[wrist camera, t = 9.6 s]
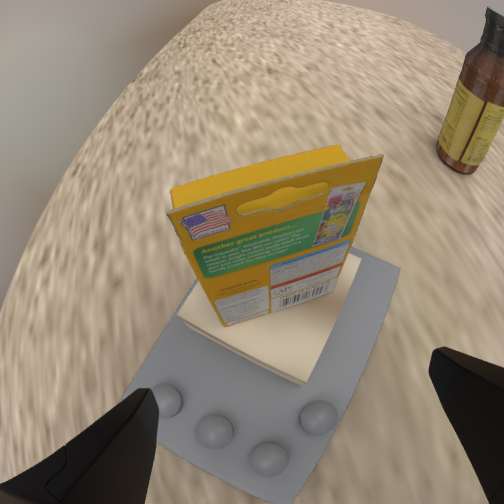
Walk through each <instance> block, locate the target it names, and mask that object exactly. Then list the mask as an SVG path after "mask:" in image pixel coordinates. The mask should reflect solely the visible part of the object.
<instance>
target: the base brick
mask: <svg viewBox="0 0 504 504" xmlns="http://www.w3.org/2000/svg"><path fill="white" fill-rule="evenodd" d="M360 262H361V258H359V257H357V256H354V255H352V254H350V253H348V255H347V258H346V260H345V263H344V265H343V268H342V270H341V273H340V276H339V278H338V281H337V283H336V285H335V288H334V290H333V292H331V293H328V294H325V295H322V296H319V297H317V298H314V299H311V300H308V301H305V302H302V303H300V304H297V305H294V306H291V307H288V308H285V309H282V310H278V311H275V312H272V313H268V314H265V315H262V316H259V317H256V318H253V319H250V320H247V321H244V322H240V323H237V324H234V325H231V326H229V327H224V326H223V325H222V324H221V322H220V320H219V318H218V316H217V314H216V312H215V311H214V309H213V307H212V305H211V303H210V301H209V299H208V298H207V296H206V294H205V292H204V290H203V288H202V287H201V284H200V282H199V281H198V282H197V284H196V285H195V287H194V288H193V290H192V291H191V293H190V294H189V296H188V298H187V299H186V301H185V302H184V304H183V305H182V307H181V309H180V310H179V312H178V313H177V315H178V317H179V318H180V319H181V320H182V321H183V322H184V323H185V324H186V325H187V326H188V327H189V328H191V329H192V330H194V331H196V332H198V333H199V334H201V335H203V336H205V337H206V338H208V339H210V340H212V341H214V342H215V343H217V344H219V345H221V346H223V347H224V348H226V349H228V350H230V351H232V352H234V353H236V354H238V355H239V356H241V357H243V358H245V359H247V360H249V361H251V362H253V363H255V364H257V365H259V366H261V367H263V368H265V369H267V370H269V371H271V372H273V373H275V374H277V375H279V376H281V377H283V378H285V379H287V380H289V381H291V382H294V383H296V384H298V385H300V386H302V385H304V384H305V383H306V382H307V380H308V378H309V376H310V374H311V372H312V370H313V368H314V366H315V364H316V362H317V360H318V358H319V356H320V354H321V352H322V350H323V348H324V346H325V343H326V341H327V339H328V337H329V335H330V333H331V331H332V328H333V326H334V324H335V322H336V319H337V317H338V315H339V313H340V310H341V308H342V306H343V303H344V301H345V299H346V296H347V294H348V292H349V289H350V287H351V284H352V282H353V279H354V277H355V274H356V272H357V269H358V267H359V264H360Z"/></svg>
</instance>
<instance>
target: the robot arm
mask: <svg viewBox="0 0 504 504" xmlns="http://www.w3.org/2000/svg"><path fill="white" fill-rule="evenodd" d="M429 376H430V378H431V381H432V383H433V385H434V388H435V390H436V392H437V395H438V397H439V400H440V402H441V405H442V407H443V409H444V411H445V413H446V415H447V417H448V419H449V421H450V423H451V424H452V426H453V428H454V430H455V432H456V434H457V436H458V438H459V440H460V442H461V444H462V446H463V448H464V450H465V452H466V454H467V456H468V458H469V460H470V462H471V464H472V466H473V468H474V470H475V473H476V475H477V477H478V479H479V481H480V483H481V486H482V488H483V490H484V493H485V495H486V497H487V499H488V501H489V504H504V368H503V367H500V366H497V365H495V364H492V363H489V362H486V361H483V360H481V359H478V358H475V357H472V356H470V355H467V354H464V353H461V352H459V351H456V350H453V349H450V348H448V347H440V348H436V349H434V350H433V352H432V356H431V361H430V365H429ZM158 421H159V407H158V404H157V401H156V399H155V396H154V394H153V391H152V390H151V389H150V388H138V389H136V390H135V391H134V392H132V393H131V394H130V395H129V396H127V397H126V398H125V399H124V400H122V401H121V402H120V403H119V404H117V405H116V406H115V407H113V408H112V409H111V410H110V411H108V412H107V413H106V414H105V415H103V416H102V417H101V418H99V419H98V420H97V421H95V422H94V423H93V424H92V425H90V426H89V427H88V428H86V429H85V430H84V431H82V432H81V433H80V434H79V435H77V436H76V437H75V438H73V439H72V440H71V441H69V442H68V443H67V444H66V446H63V447H61V448H60V449H59V450H57V451H56V452H54V453H53V454H52V455H50V456H49V457H47V458H46V459H44V460H43V461H41V462H39V463H38V464H36V465H35V466H33V467H31V468H29V469H28V470H26V471H24V472H22V473H21V474H19V475H17V476H15V477H14V478H12V479H10V480H8V481H6V482H4V483H1V484H0V504H145V499H146V494H147V490H148V485H149V480H150V475H151V471H152V466H153V462H154V457H155V451H156V441H157V431H158Z"/></svg>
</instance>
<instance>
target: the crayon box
mask: <svg viewBox="0 0 504 504" xmlns="http://www.w3.org/2000/svg"><path fill="white" fill-rule="evenodd" d="M383 157H384V155H383V154H380V155H377V156H370V157H366V158H362V159H358V160H353V161H350V159H349V158H348V156H347V155H346V154H345V152H344V151H343V150H342V148H341V146H340V145H334V146H329V147H325V148H320V149H315V150H311V151H307V152H302V153H298V154H293V155H289V156H285V157H281V158H277V159H273V160H269V161H265V162H261V163H257V164H253V165H250V166H246V167H242V168H239V169H235V170H231V171H227V172H224V173H220V174H217V175H213V176H210V177H207V178H203V179H200V180H197V181H193V182H190V183H187V184H184V185H180V186H177V187H174V188H172V189H171V190H170V194H171V198H172V204H173V209H172V210H170V211H167V213H166V214H167V216H168V218H169V219H170V221H171V223H172V225H173V226H174V229H175V232H176V234H177V236H178V237H179V240H180V244H181V247H182V249H183V251H184V253H185V255H186V257H187V259H188V261H189V263H190V265H191V267H192V268H193V271H194V273H195V275H196V276H197V278H198V280H199V282H200V284H201V287H202V288H203V290H204V292H205V294H206V296H207V298H208V299H209V301H210V303H211V305H212V307H213V309H214V311H215V312H216V314H217V316H218V318H219V320H220V322H221V324H222V325H223V326H224V327H229V326H231V325H234V324H237V323H240V322H244V321H247V320H250V319H253V318H256V317H259V316H262V315H265V314H268V313H272V312H275V311H278V310H282V309H285V308H288V307H291V306H294V305H297V304H300V303H302V302H305V301H308V300H311V299H314V298H317V297H319V296H322V295H325V294H328V293H331V292H333V290H334V288H335V285H336V283H337V281H338V278H339V276H340V273H341V270H342V268H343V265H344V263H345V260H346V258H347V255H348V253H349V250H350V247H351V245H352V242H353V240H354V237H355V234H356V232H357V229H358V226H359V223H360V220H361V218H362V215H363V212H364V209H365V206H366V204H367V201H368V198H369V195H370V192H371V190H372V188H373V186H374V183H375V180H376V178H377V174H378V171H379V168H380V166H381V163H382V160H383Z"/></svg>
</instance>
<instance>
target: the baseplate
mask: <svg viewBox="0 0 504 504" xmlns="http://www.w3.org/2000/svg"><path fill="white" fill-rule="evenodd" d="M349 253H350V254H352V255H354V256H357V257H359V258H361V262H360V264H359V267H358V269H357V272H356V274H355V277H354V279H353V282H352V284H351V287H350V289H349V292H348V294H347V296H346V299H345V301H344V303H343V306H342V308H341V310H340V313H339V315H338V317H337V319H336V322H335V324H334V326H333V328H332V331H331V333H330V335H329V337H328V339H327V341H326V343H325V346H324V348H323V350H322V352H321V354H320V356H319V358H318V360H317V362H316V364H315V366H314V368H313V370H312V372H311V374H310V376H309V378H308V380H307V382H306V383H305V384H304V385H302V386H300V385H298V384H296V383H294V382H291V381H289V380H287V379H285V378H283V377H281V376H279V375H277V374H275V373H273V372H271V371H269V370H267V369H265V368H263V367H261V366H259V365H257V364H255V363H253V362H251V361H249V360H247V359H245V358H243V357H241V356H239V355H238V354H236V353H234V352H232V351H230V350H228V349H226V348H224V347H223V346H221V345H219V344H217V343H215V342H214V341H212V340H210V339H208V338H206V337H205V336H203V335H201V334H199V333H198V332H196V331H194V330H192V329H191V328H189V327H188V326H187V325H186V324H185V323H184V322H183V321H182V320H181V319H180V318H179V317H178V315H177V313H178V312H179V310H180V309H181V307H182V305H183V304H184V302H185V301H186V299H187V298H188V296H189V294H190V293H191V291H192V290H193V288H194V287H195V285H196V284H197V282H198V281H199V280H198V278H197V279H196V281H195V282H194V284H193V285H192V287H191V288H190V290H189V292H188V293H187V295H186V296H185V298H184V299H183V301H182V302H181V304H180V306H179V307H178V309H177V310H176V312H175V313H174V315H173V316H172V318H171V320H170V321H169V323H168V324H167V326H166V327H165V329H164V331H163V332H162V334H161V335H160V337H159V339H158V340H157V342H156V343H155V345H154V347H153V348H152V350H151V351H150V353H149V355H148V356H147V358H146V359H145V361H144V363H143V364H142V366H141V367H140V369H139V371H138V372H137V374H136V376H135V377H134V379H133V381H132V382H131V384H130V385H129V387H128V389H127V390H126V392H125V394H124V395H123V397H122V399H121V400H120V402H121V401H122V400H124V399H125V398H126V397H127V396H129V395H130V394H131V393H132V392H134V391H135V390H136V389H138V388H150V389H151V390H152V391H153V394H154V396H155V399H156V401H157V404H158V407H159V421H158V431H157V442H159V443H160V444H162V445H163V446H165V447H166V448H168V449H169V450H171V451H172V452H174V453H175V454H177V455H179V456H180V457H182V458H183V459H185V460H187V461H188V462H190V463H192V464H193V465H195V466H197V467H199V468H200V469H202V470H204V471H206V472H207V473H209V474H211V475H213V476H215V477H217V478H218V479H220V480H222V481H224V482H226V483H228V484H230V485H232V486H234V487H236V488H238V489H240V490H242V491H244V492H246V493H248V494H251V495H253V496H255V497H257V498H259V499H262V500H264V501H266V502H269V503H271V504H292V502H293V501H294V499H295V498H296V496H297V494H298V493H299V491H300V490H301V488H302V487H303V485H304V483H305V482H306V480H307V479H308V477H309V475H310V474H311V472H312V470H313V469H314V467H315V465H316V464H317V462H318V460H319V459H320V457H321V455H322V453H323V452H324V450H325V448H326V446H327V444H328V442H329V441H330V439H331V437H332V435H333V433H334V431H335V429H336V427H337V426H338V424H339V422H340V420H341V418H342V416H343V414H344V412H345V410H346V408H347V406H348V403H349V401H350V399H351V397H352V395H353V393H354V391H355V389H356V386H357V384H358V382H359V380H360V377H361V375H362V373H363V371H364V368H365V366H366V363H367V361H368V359H369V356H370V354H371V351H372V349H373V346H374V344H375V341H376V339H377V336H378V334H379V331H380V328H381V326H382V323H383V320H384V317H385V314H386V312H387V309H388V306H389V303H390V300H391V297H392V294H393V291H394V288H395V285H396V282H397V278H398V275H399V272H400V268H398V267H396V266H394V265H392V264H389V263H387V262H385V261H383V260H381V259H378V258H376V257H374V256H372V255H369V254H367V253H365V252H363V251H360V250H358V249H356V248H353V247H350V250H349ZM120 402H119V403H120Z"/></svg>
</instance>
